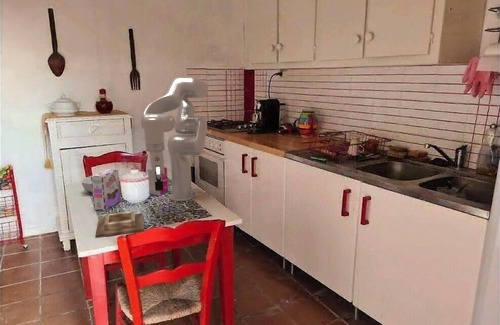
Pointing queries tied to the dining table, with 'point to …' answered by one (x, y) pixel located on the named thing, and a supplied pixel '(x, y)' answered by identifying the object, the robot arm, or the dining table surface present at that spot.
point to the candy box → (105, 189)
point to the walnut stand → (119, 224)
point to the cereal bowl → (87, 184)
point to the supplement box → (152, 183)
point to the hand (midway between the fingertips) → (158, 186)
